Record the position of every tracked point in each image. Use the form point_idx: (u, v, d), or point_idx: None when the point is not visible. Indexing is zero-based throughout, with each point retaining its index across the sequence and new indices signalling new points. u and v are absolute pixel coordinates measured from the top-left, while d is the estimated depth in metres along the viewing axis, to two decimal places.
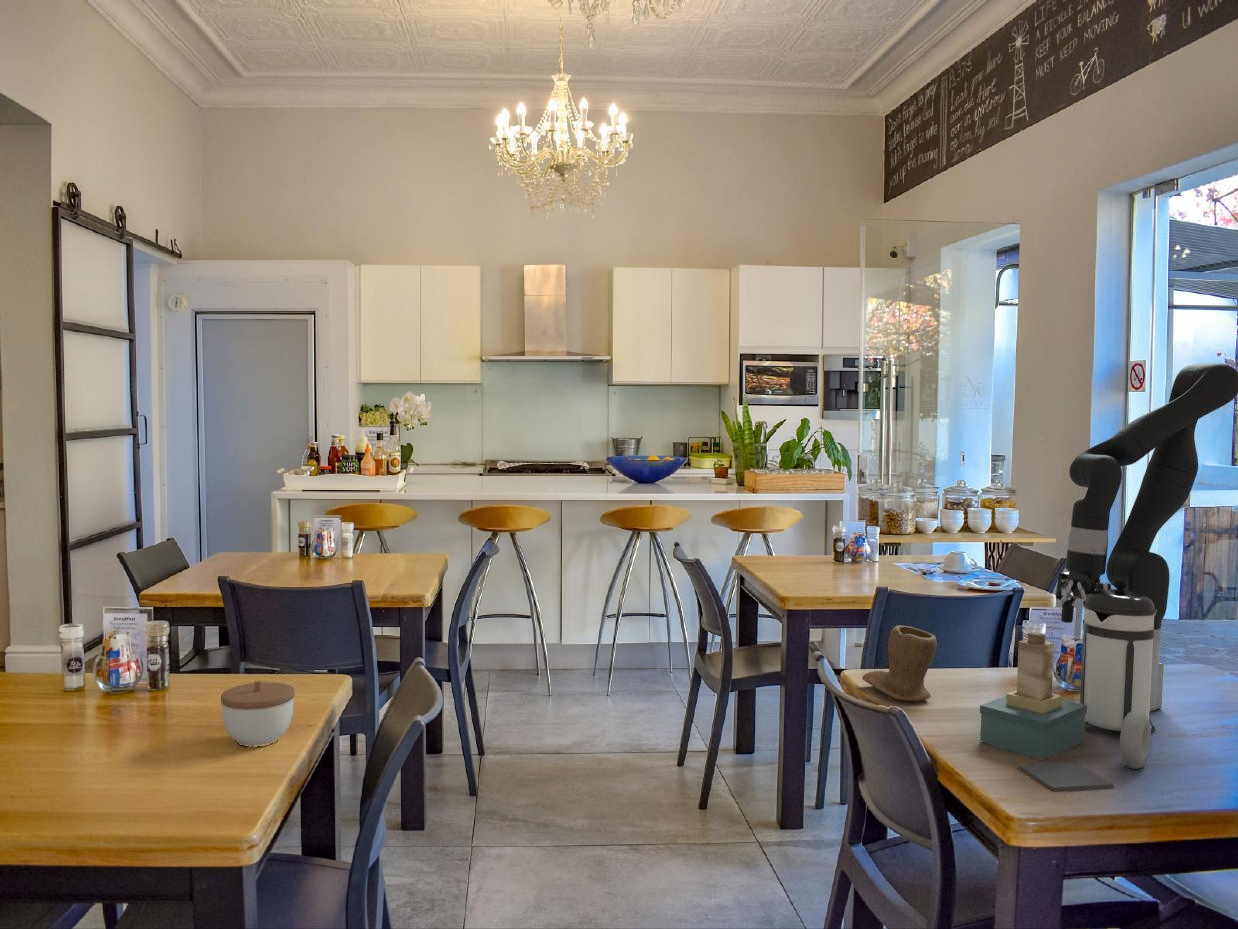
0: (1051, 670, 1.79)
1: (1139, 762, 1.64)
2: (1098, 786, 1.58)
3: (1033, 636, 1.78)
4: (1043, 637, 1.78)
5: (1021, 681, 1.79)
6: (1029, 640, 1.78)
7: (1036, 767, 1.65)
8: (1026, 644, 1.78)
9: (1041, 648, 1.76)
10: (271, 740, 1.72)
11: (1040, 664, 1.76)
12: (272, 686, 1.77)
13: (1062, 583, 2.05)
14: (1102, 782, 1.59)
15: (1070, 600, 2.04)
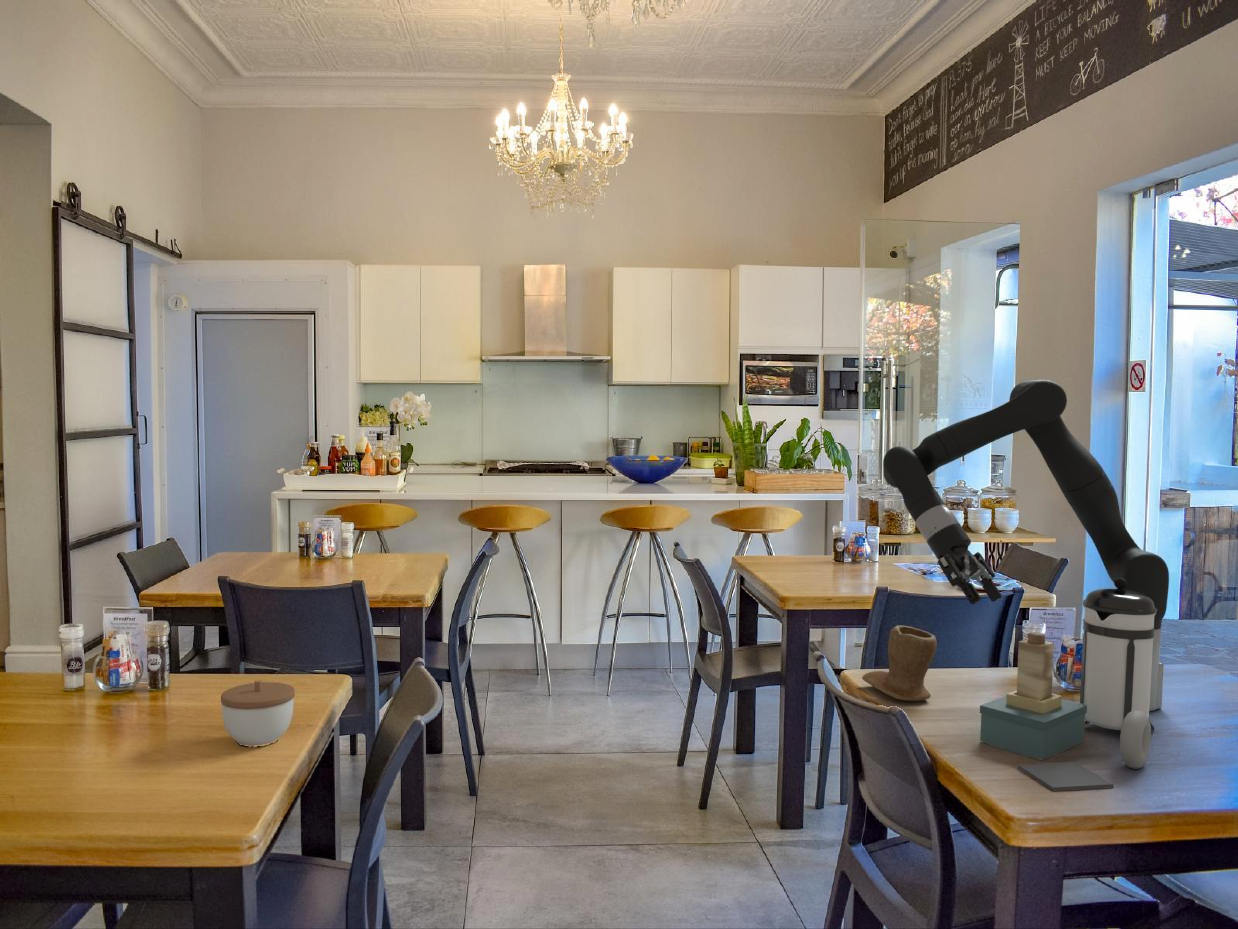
0: (1051, 670, 1.79)
1: (1139, 762, 1.64)
2: (1098, 786, 1.58)
3: (1033, 636, 1.78)
4: (1043, 637, 1.78)
5: (1021, 681, 1.79)
6: (1029, 640, 1.78)
7: (1036, 767, 1.65)
8: (1026, 644, 1.78)
9: (1041, 648, 1.76)
10: (271, 740, 1.72)
11: (1040, 664, 1.76)
12: (272, 686, 1.77)
13: None
14: (1102, 782, 1.59)
15: (985, 578, 1.92)
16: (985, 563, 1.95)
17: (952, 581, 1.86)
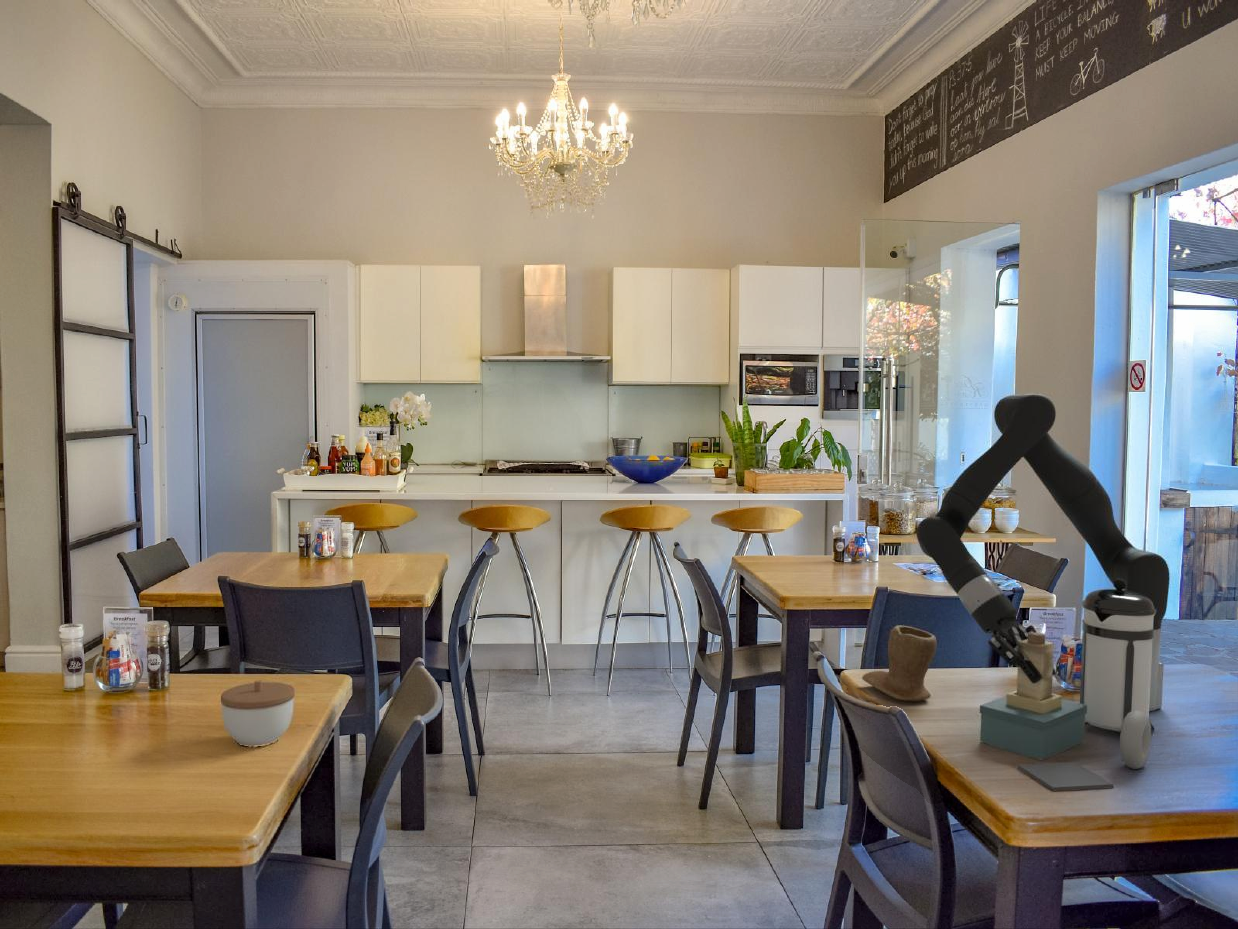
0: (1051, 670, 1.79)
1: (1139, 763, 1.64)
2: (1098, 786, 1.58)
3: (1033, 636, 1.78)
4: (1043, 637, 1.78)
5: (1021, 681, 1.79)
6: (1029, 640, 1.78)
7: (1036, 767, 1.65)
8: (1026, 644, 1.78)
9: (1041, 648, 1.76)
10: (271, 740, 1.72)
11: (1040, 664, 1.76)
12: (272, 686, 1.77)
13: None
14: (1102, 782, 1.59)
15: None
16: None
17: (1010, 661, 1.77)
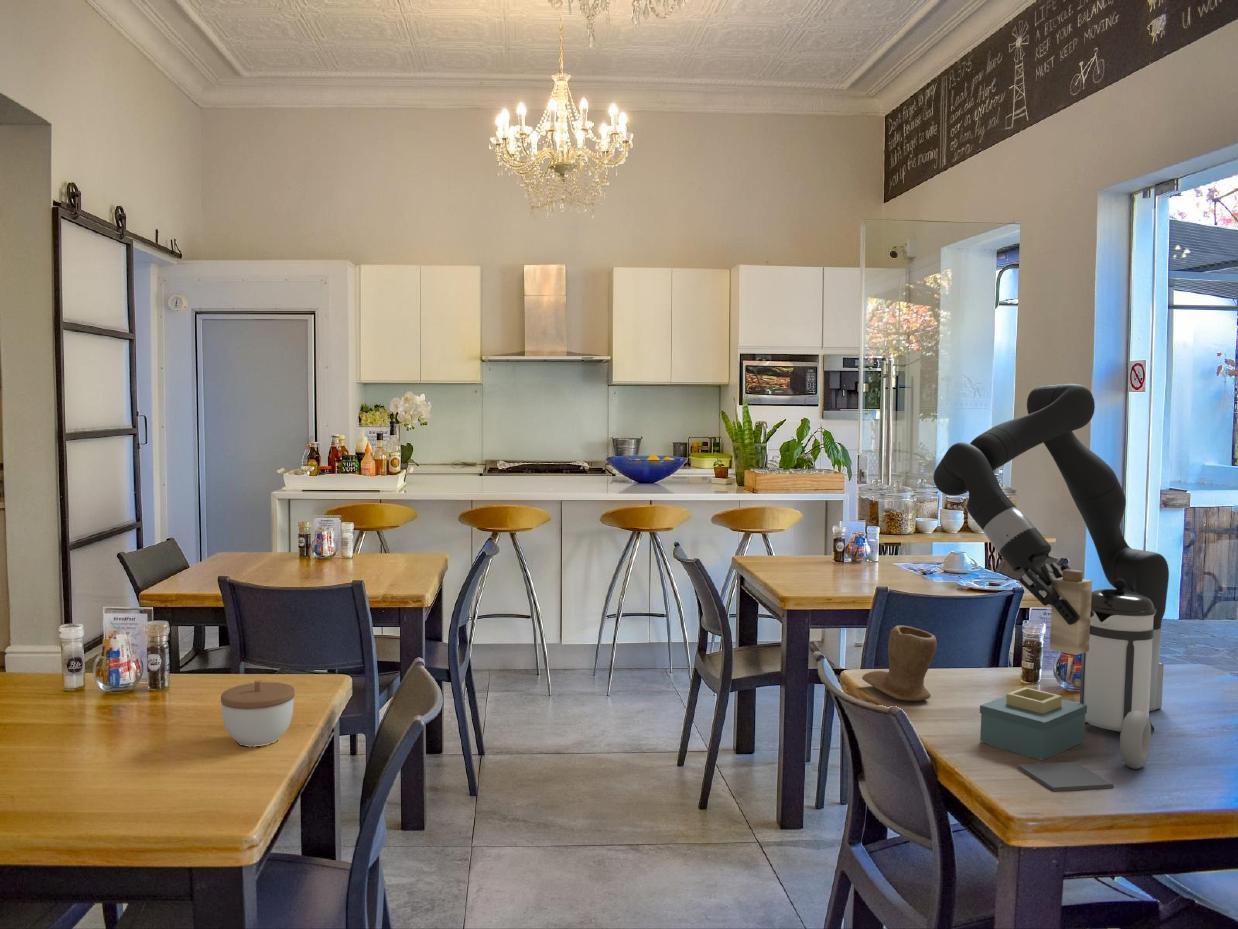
0: (1089, 611, 1.60)
1: (1139, 762, 1.64)
2: (1098, 786, 1.58)
3: (1069, 573, 1.59)
4: (1080, 574, 1.59)
5: (1055, 623, 1.61)
6: (1064, 577, 1.60)
7: (1036, 767, 1.65)
8: (1062, 582, 1.60)
9: (1079, 585, 1.57)
10: (271, 740, 1.72)
11: (1077, 604, 1.58)
12: (272, 686, 1.77)
13: None
14: (1102, 782, 1.59)
15: None
16: None
17: (1043, 600, 1.59)
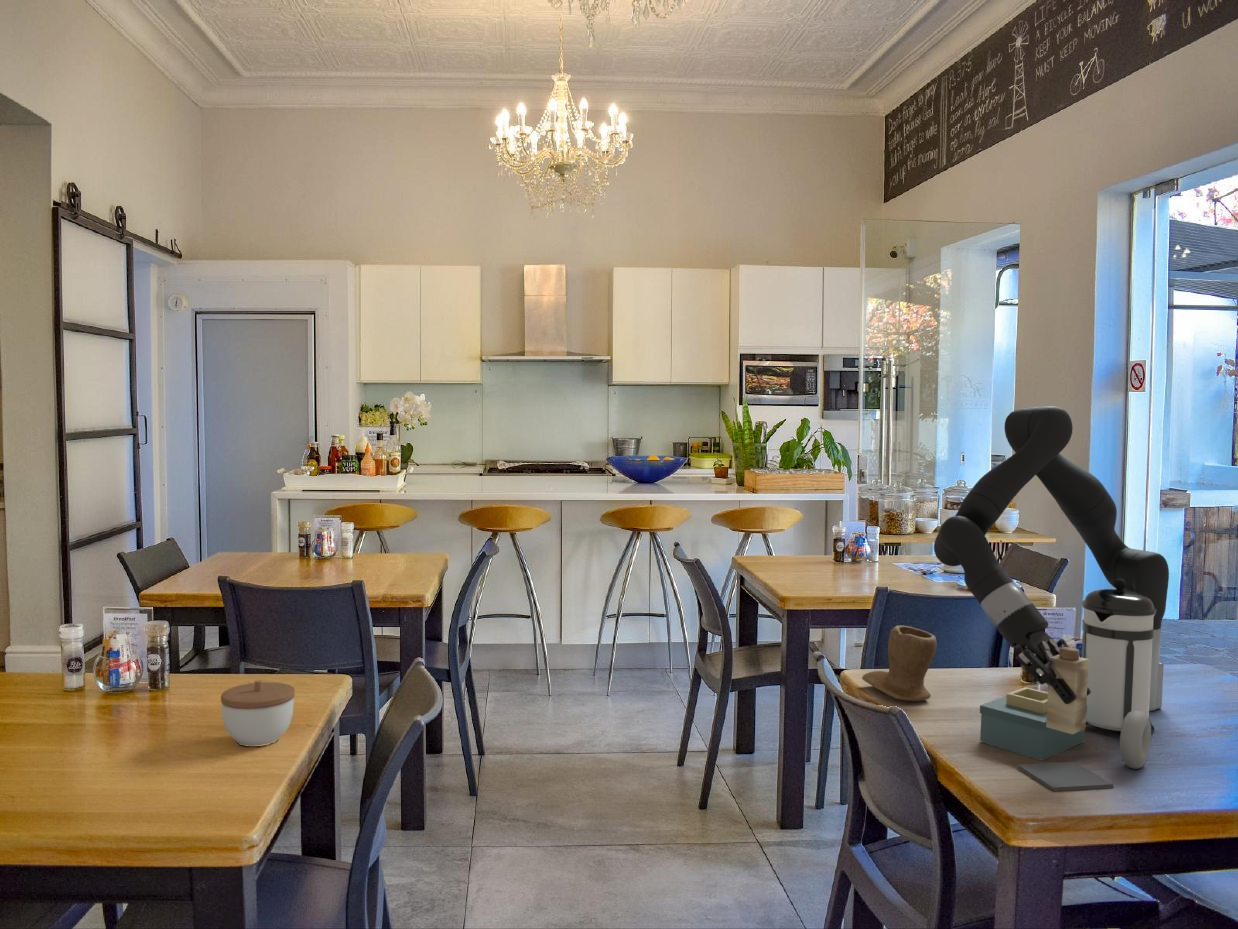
0: (1085, 689, 1.61)
1: (1139, 762, 1.64)
2: (1098, 786, 1.58)
3: (1066, 651, 1.60)
4: (1077, 653, 1.60)
5: (1052, 701, 1.61)
6: (1061, 656, 1.61)
7: (1036, 767, 1.65)
8: (1058, 661, 1.60)
9: (1075, 665, 1.58)
10: (271, 740, 1.72)
11: (1074, 683, 1.58)
12: (272, 686, 1.77)
13: None
14: (1102, 782, 1.59)
15: None
16: None
17: (1040, 679, 1.60)
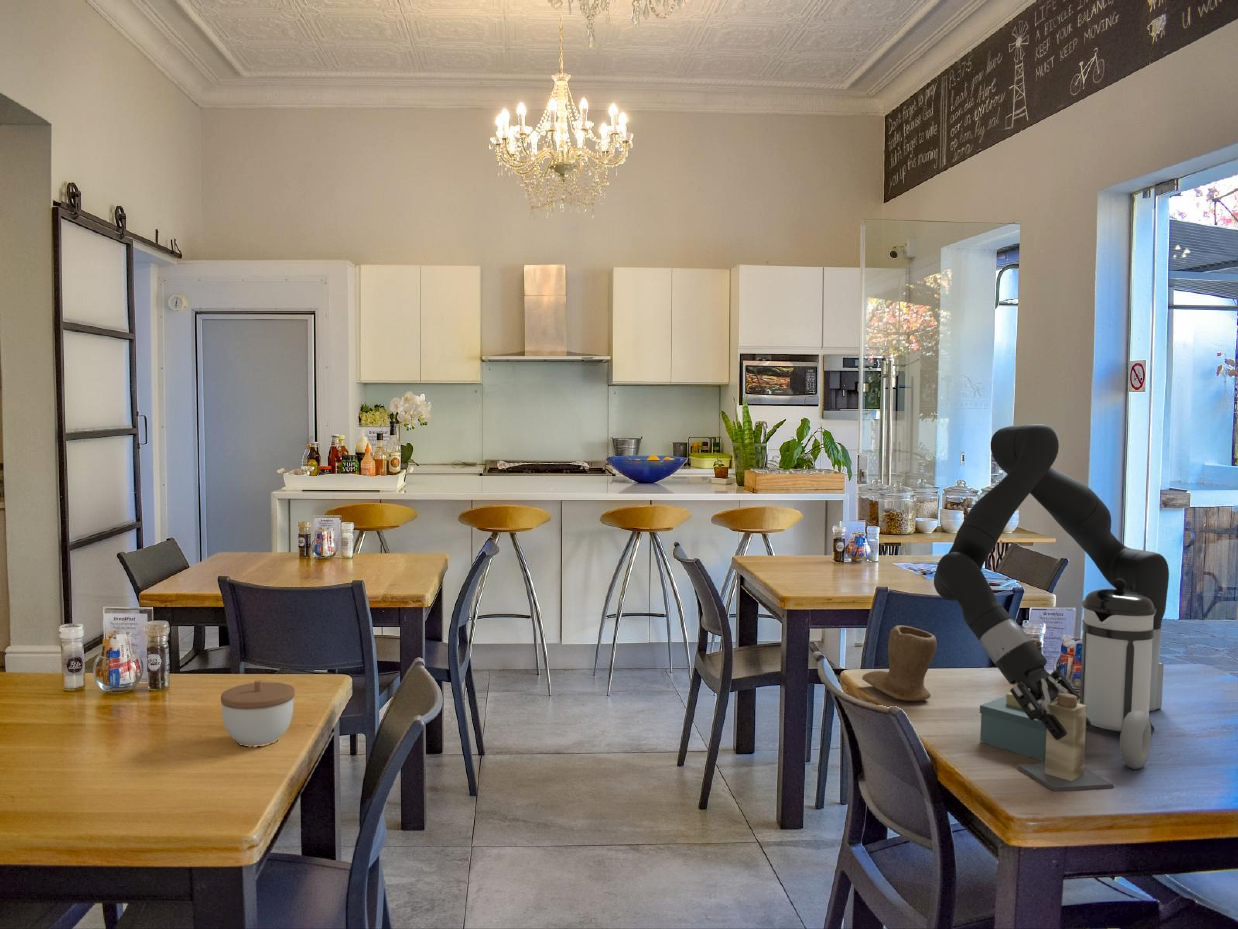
0: (1083, 736, 1.61)
1: (1139, 762, 1.64)
2: (1098, 786, 1.58)
3: (1064, 698, 1.61)
4: (1075, 699, 1.60)
5: (1050, 748, 1.62)
6: (1059, 702, 1.61)
7: (1036, 767, 1.65)
8: (1056, 707, 1.61)
9: (1073, 712, 1.59)
10: (271, 740, 1.72)
11: (1072, 730, 1.59)
12: (272, 686, 1.77)
13: None
14: (1102, 782, 1.59)
15: None
16: (1066, 683, 1.68)
17: (1030, 714, 1.59)
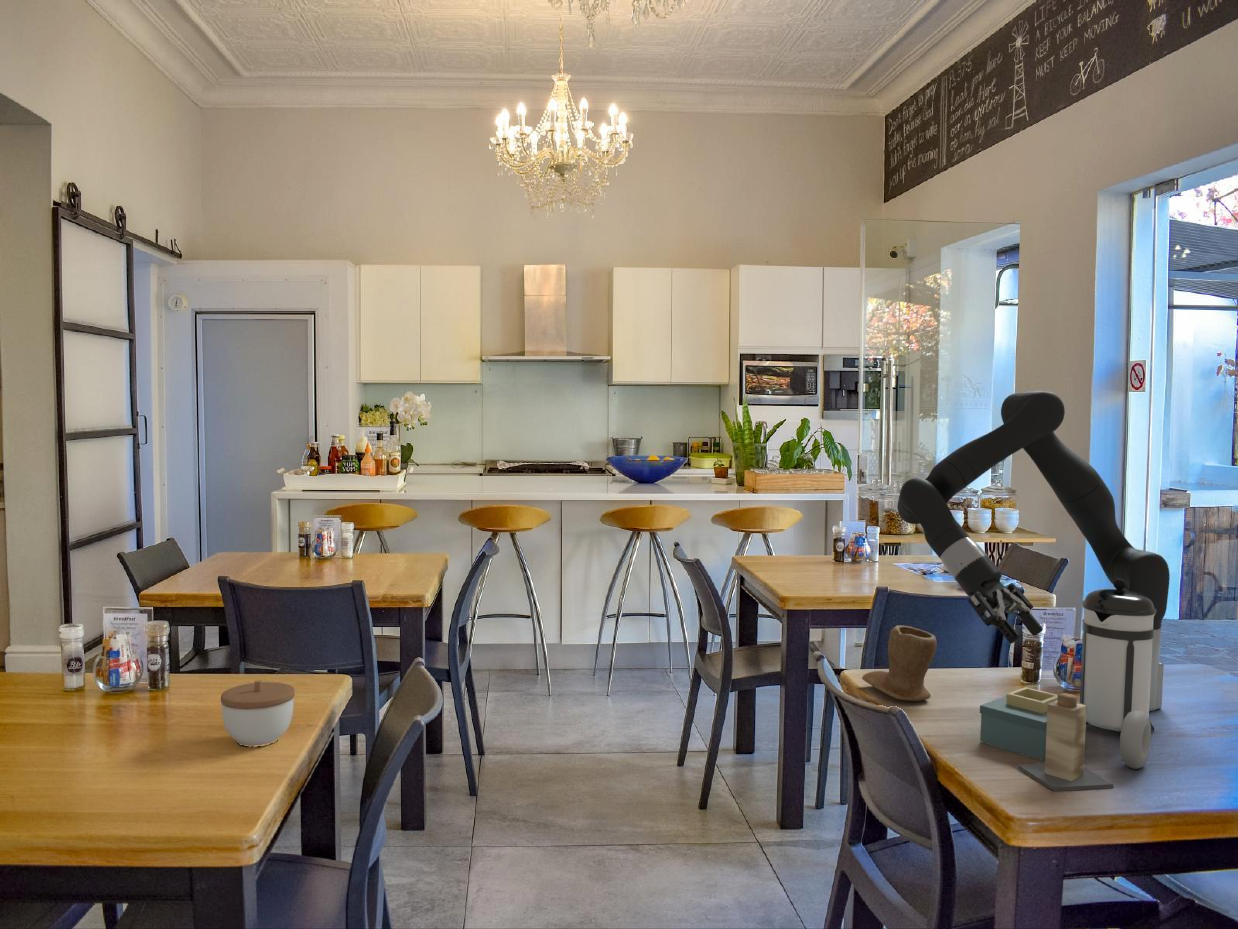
0: (1083, 736, 1.61)
1: (1139, 762, 1.64)
2: (1098, 786, 1.58)
3: (1064, 698, 1.61)
4: (1075, 699, 1.60)
5: (1050, 748, 1.62)
6: (1059, 702, 1.61)
7: (1036, 767, 1.65)
8: (1056, 707, 1.61)
9: (1073, 712, 1.59)
10: (271, 740, 1.72)
11: (1072, 730, 1.59)
12: (272, 686, 1.77)
13: None
14: (1102, 782, 1.59)
15: (1023, 611, 1.79)
16: (1021, 594, 1.81)
17: (986, 621, 1.72)
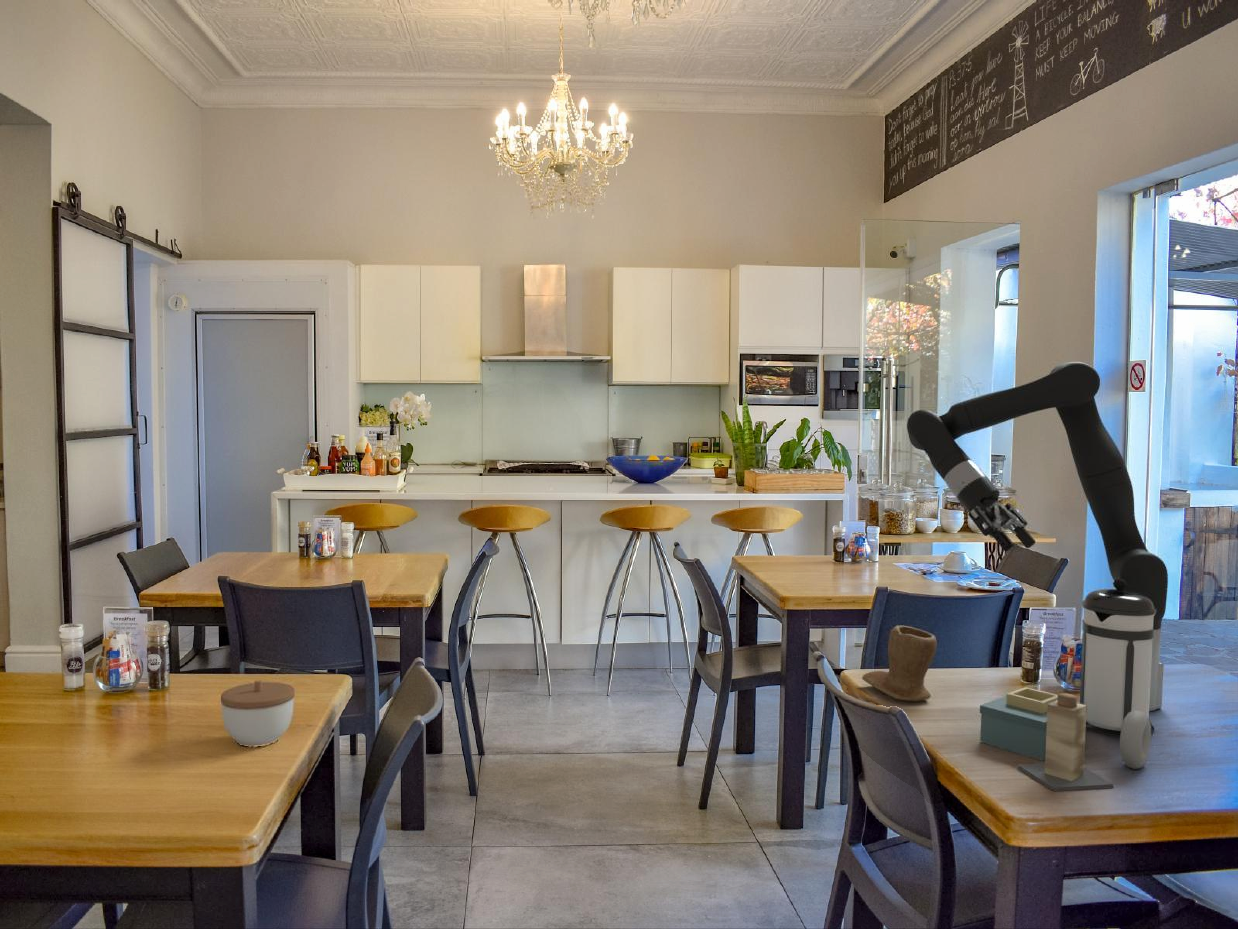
0: (1083, 736, 1.61)
1: (1139, 762, 1.64)
2: (1098, 786, 1.58)
3: (1064, 698, 1.61)
4: (1075, 699, 1.60)
5: (1050, 748, 1.62)
6: (1059, 702, 1.61)
7: (1036, 767, 1.65)
8: (1056, 707, 1.61)
9: (1073, 712, 1.59)
10: (271, 740, 1.72)
11: (1072, 730, 1.59)
12: (272, 686, 1.77)
13: None
14: (1102, 782, 1.59)
15: (1018, 526, 1.98)
16: (1016, 512, 2.01)
17: (984, 531, 1.92)
